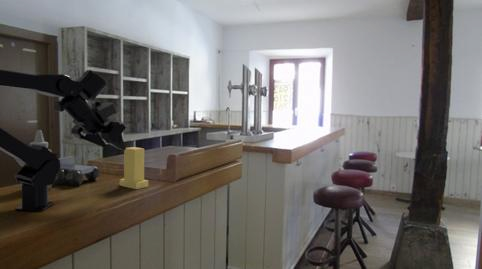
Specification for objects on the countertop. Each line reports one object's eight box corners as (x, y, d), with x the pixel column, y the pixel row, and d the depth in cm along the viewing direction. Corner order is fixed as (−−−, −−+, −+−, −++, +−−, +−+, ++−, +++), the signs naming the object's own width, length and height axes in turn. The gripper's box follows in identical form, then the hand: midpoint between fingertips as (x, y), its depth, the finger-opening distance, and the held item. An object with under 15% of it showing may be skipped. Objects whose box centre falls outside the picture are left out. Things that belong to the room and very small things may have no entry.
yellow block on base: (136, 189, 110) (136, 150, 109) (119, 185, 114) (119, 147, 113) (148, 186, 114) (148, 148, 113) (131, 182, 119) (132, 146, 117)
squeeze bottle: (17, 191, 103) (16, 130, 101) (40, 185, 110) (39, 128, 109) (39, 194, 100) (38, 132, 99) (61, 188, 108) (60, 130, 107)
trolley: (80, 186, 111) (80, 161, 110) (51, 183, 113) (50, 159, 113) (99, 180, 120) (100, 157, 120) (72, 177, 123) (72, 155, 122)
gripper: (120, 92, 96) (150, 131, 106) (80, 92, 106) (111, 127, 116) (95, 121, 90) (129, 159, 100) (55, 118, 100) (89, 152, 110)
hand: (114, 148), depth 107 cm, fingers open, 9 cm apart
